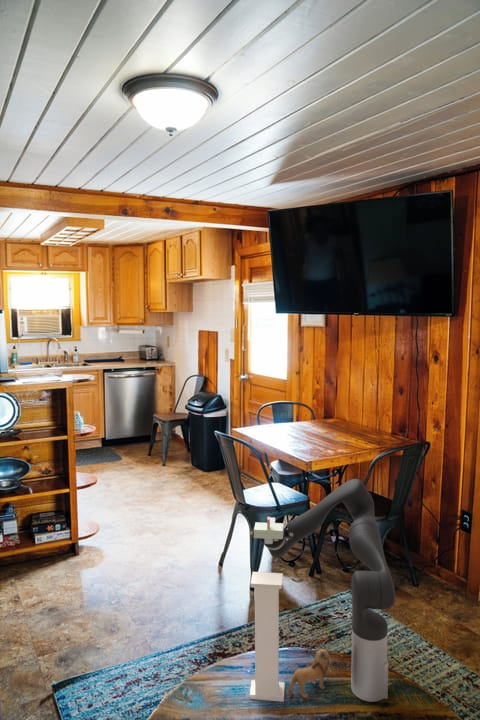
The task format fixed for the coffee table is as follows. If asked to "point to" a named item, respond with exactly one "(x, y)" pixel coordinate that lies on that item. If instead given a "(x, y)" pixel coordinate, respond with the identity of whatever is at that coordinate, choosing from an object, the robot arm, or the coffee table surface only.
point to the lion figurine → (311, 673)
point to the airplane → (269, 530)
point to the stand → (267, 637)
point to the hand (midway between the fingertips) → (269, 530)
